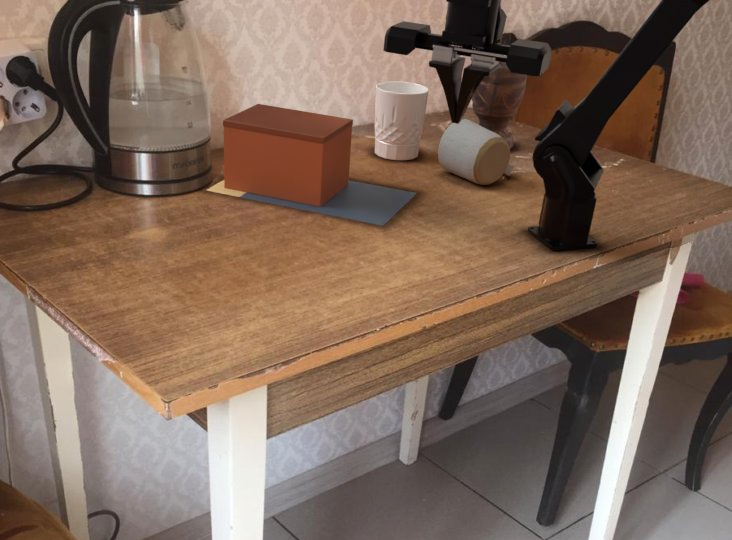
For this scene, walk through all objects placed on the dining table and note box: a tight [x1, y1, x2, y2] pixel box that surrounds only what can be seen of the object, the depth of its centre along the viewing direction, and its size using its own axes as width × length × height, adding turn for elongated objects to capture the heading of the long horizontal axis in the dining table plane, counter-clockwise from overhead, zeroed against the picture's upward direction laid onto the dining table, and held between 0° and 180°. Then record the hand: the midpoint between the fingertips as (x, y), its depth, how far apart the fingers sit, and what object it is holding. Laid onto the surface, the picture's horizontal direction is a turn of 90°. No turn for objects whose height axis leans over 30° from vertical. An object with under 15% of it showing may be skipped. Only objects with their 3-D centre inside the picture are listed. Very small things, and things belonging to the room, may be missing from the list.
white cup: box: [373, 80, 430, 161], centre depth 131 cm, size 8×8×10 cm
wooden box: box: [222, 103, 354, 207], centre depth 115 cm, size 14×10×9 cm
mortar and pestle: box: [471, 49, 528, 150], centre depth 134 cm, size 12×9×20 cm
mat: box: [205, 179, 418, 227], centre depth 117 cm, size 25×14×1 cm, turn 68°
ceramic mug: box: [437, 118, 514, 186], centre depth 124 cm, size 11×8×8 cm
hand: (456, 122), depth 105 cm, fingers closed
